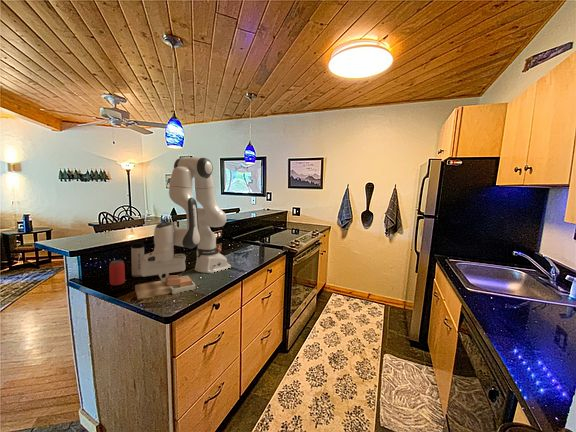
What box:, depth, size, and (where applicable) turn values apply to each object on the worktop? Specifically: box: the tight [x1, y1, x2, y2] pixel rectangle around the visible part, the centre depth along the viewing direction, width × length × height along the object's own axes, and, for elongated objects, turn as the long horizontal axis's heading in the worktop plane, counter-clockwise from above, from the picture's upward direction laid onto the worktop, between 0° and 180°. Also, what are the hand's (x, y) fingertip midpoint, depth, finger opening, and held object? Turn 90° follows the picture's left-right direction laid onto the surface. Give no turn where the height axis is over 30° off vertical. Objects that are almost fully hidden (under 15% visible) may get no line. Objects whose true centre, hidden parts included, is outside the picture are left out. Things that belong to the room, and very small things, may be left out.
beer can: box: [108, 259, 126, 286], centre depth 127 cm, size 7×7×12 cm
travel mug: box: [130, 240, 145, 278], centre depth 139 cm, size 6×7×20 cm
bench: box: [134, 280, 172, 301], centre depth 120 cm, size 14×11×3 cm
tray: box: [170, 275, 197, 295], centre depth 128 cm, size 11×15×2 cm
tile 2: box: [178, 276, 193, 288], centre depth 128 cm, size 6×6×3 cm
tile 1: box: [165, 274, 181, 285], centre depth 125 cm, size 6×6×3 cm
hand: (163, 281), depth 122 cm, fingers closed
